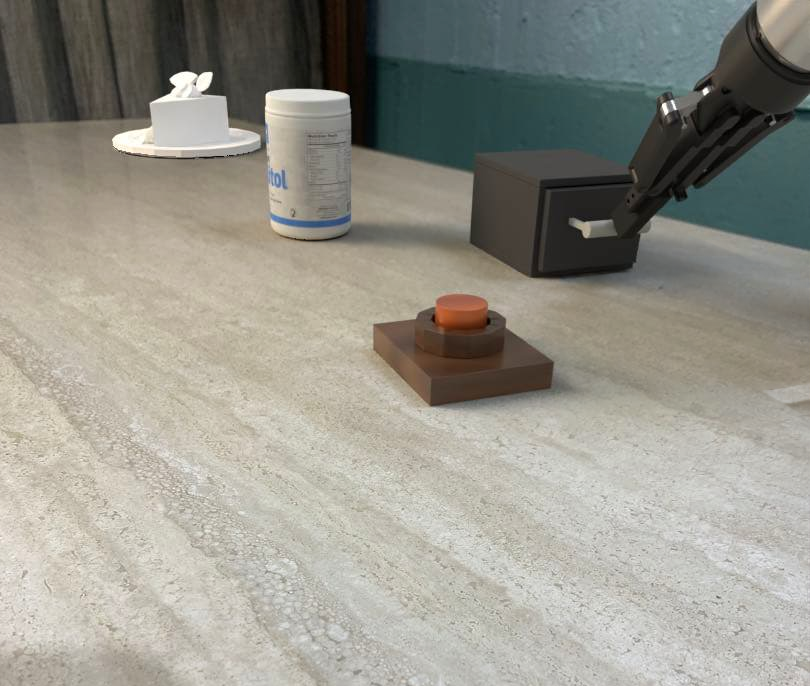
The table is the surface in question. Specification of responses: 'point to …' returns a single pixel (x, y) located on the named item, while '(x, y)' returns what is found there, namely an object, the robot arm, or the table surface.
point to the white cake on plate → (189, 124)
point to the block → (461, 359)
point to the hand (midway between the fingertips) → (621, 226)
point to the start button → (461, 312)
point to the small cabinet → (529, 200)
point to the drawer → (584, 228)
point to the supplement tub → (309, 162)
